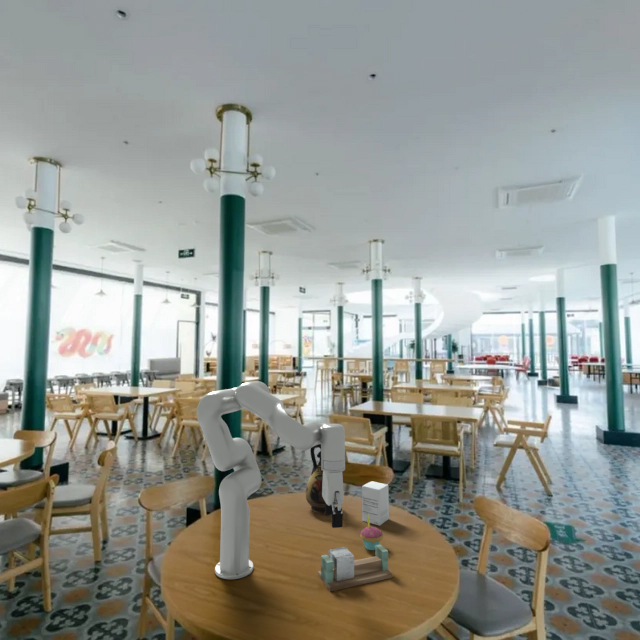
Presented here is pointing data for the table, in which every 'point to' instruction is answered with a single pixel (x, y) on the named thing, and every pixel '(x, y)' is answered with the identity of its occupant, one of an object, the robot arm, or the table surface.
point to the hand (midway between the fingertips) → (333, 520)
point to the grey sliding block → (342, 563)
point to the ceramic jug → (315, 485)
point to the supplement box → (375, 502)
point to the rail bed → (357, 579)
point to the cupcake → (371, 536)
